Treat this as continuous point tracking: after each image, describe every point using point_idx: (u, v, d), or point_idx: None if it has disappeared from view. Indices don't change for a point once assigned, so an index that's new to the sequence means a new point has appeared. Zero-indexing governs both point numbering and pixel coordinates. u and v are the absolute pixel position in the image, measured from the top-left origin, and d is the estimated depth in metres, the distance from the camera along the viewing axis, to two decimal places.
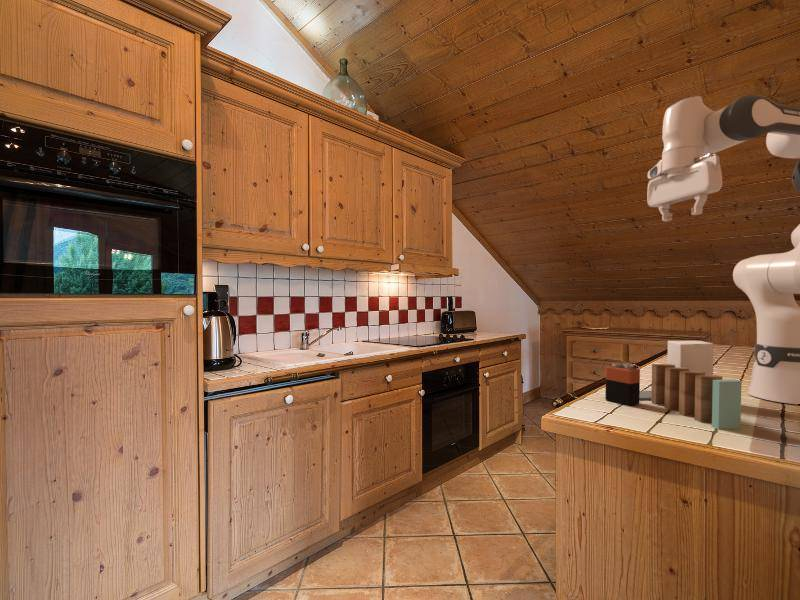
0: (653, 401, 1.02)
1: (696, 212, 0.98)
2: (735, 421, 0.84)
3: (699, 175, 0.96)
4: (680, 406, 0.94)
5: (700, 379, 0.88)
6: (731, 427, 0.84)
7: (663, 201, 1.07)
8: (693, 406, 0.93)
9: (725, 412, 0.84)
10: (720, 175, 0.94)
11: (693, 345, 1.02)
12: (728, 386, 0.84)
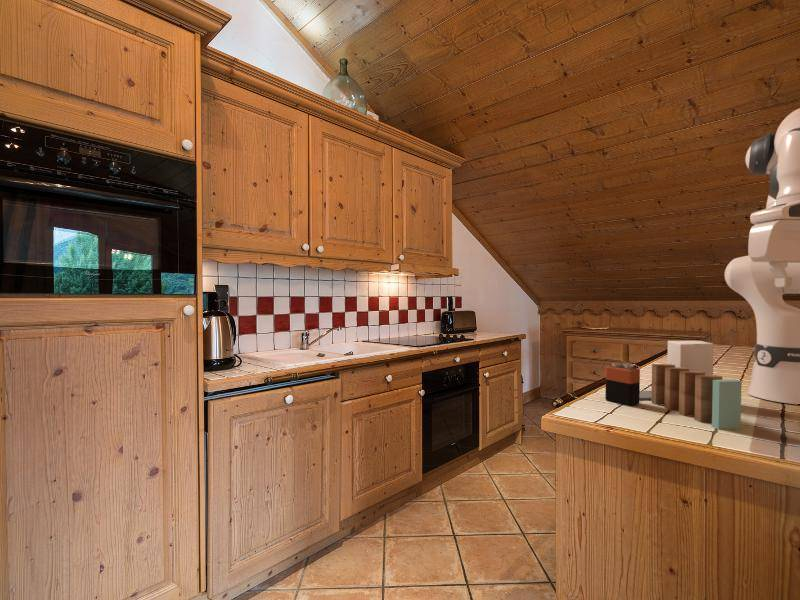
0: (653, 401, 1.02)
1: None
2: (735, 421, 0.84)
3: None
4: (680, 406, 0.94)
5: (700, 379, 0.88)
6: (731, 427, 0.84)
7: (796, 258, 0.73)
8: (693, 406, 0.93)
9: (725, 412, 0.84)
10: None
11: (693, 345, 1.02)
12: (728, 386, 0.84)
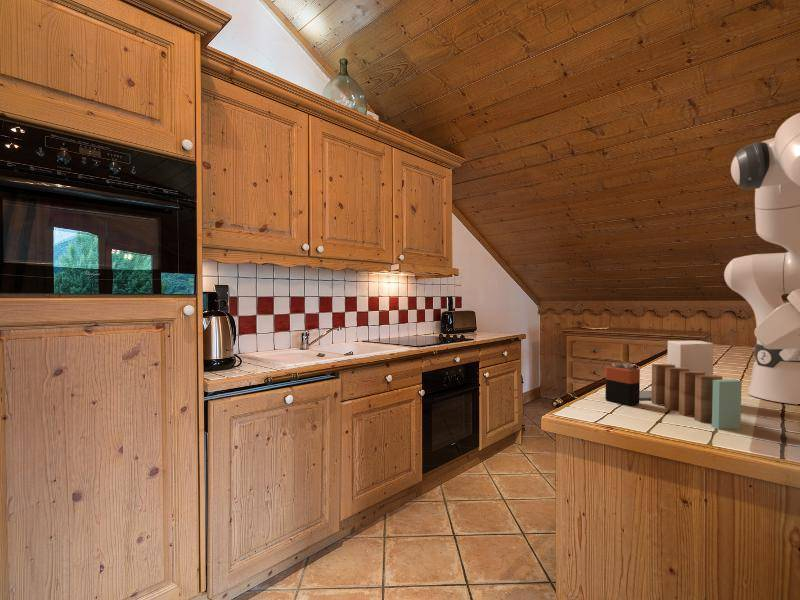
0: (653, 401, 1.02)
1: None
2: (735, 421, 0.84)
3: None
4: (680, 406, 0.94)
5: (700, 379, 0.88)
6: (731, 427, 0.84)
7: (797, 348, 0.67)
8: (693, 406, 0.93)
9: (725, 412, 0.84)
10: None
11: (693, 345, 1.02)
12: (728, 386, 0.84)
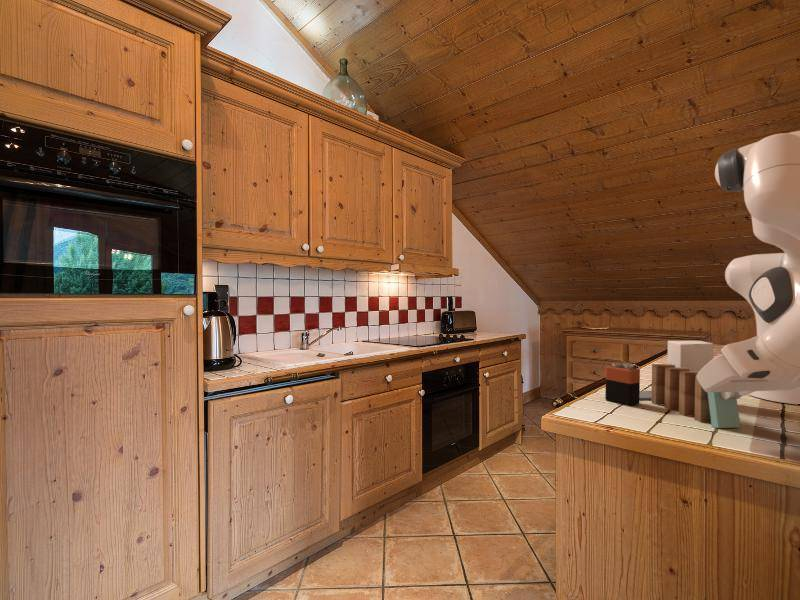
0: (653, 401, 1.02)
1: None
2: (734, 419, 0.84)
3: (799, 379, 0.77)
4: (680, 406, 0.94)
5: None
6: (731, 426, 0.84)
7: (731, 391, 0.79)
8: (693, 406, 0.93)
9: (722, 411, 0.84)
10: None
11: (693, 345, 1.02)
12: None
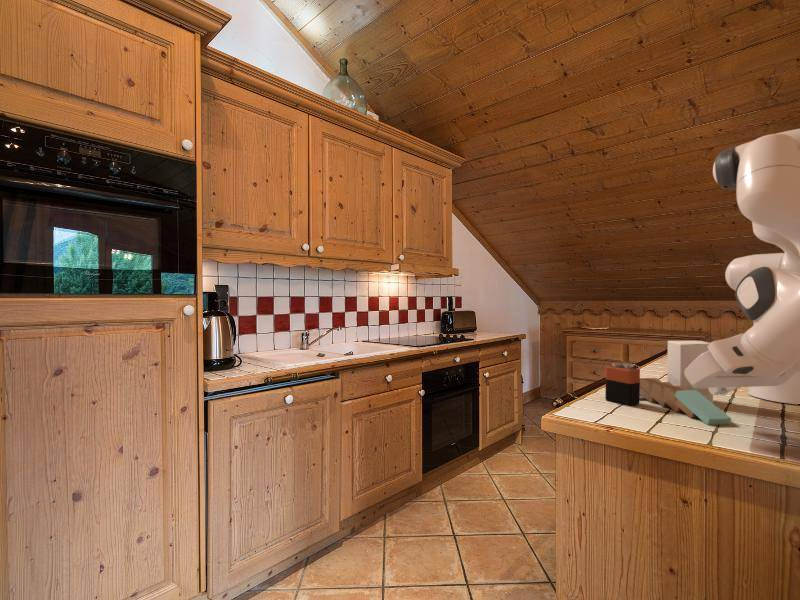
0: (650, 398, 1.04)
1: None
2: (720, 413, 0.88)
3: (783, 376, 0.80)
4: (671, 406, 0.97)
5: (664, 388, 0.99)
6: (721, 417, 0.86)
7: (718, 386, 0.82)
8: None
9: (703, 408, 0.89)
10: None
11: (693, 345, 1.02)
12: (688, 393, 0.94)
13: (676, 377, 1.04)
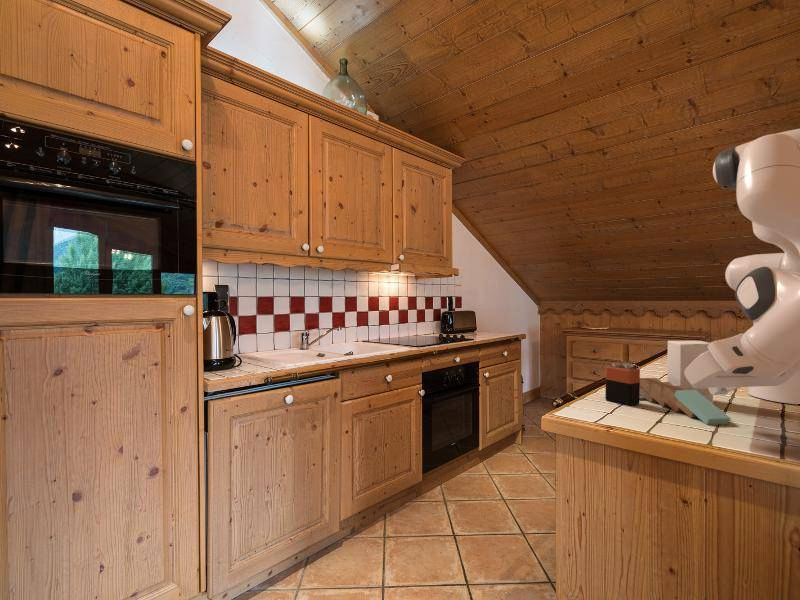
0: (649, 398, 1.04)
1: None
2: (719, 413, 0.88)
3: (783, 375, 0.80)
4: (671, 406, 0.97)
5: (664, 388, 0.99)
6: (720, 417, 0.86)
7: (718, 386, 0.82)
8: None
9: (703, 408, 0.89)
10: None
11: (693, 345, 1.02)
12: (687, 392, 0.94)
13: (676, 377, 1.04)
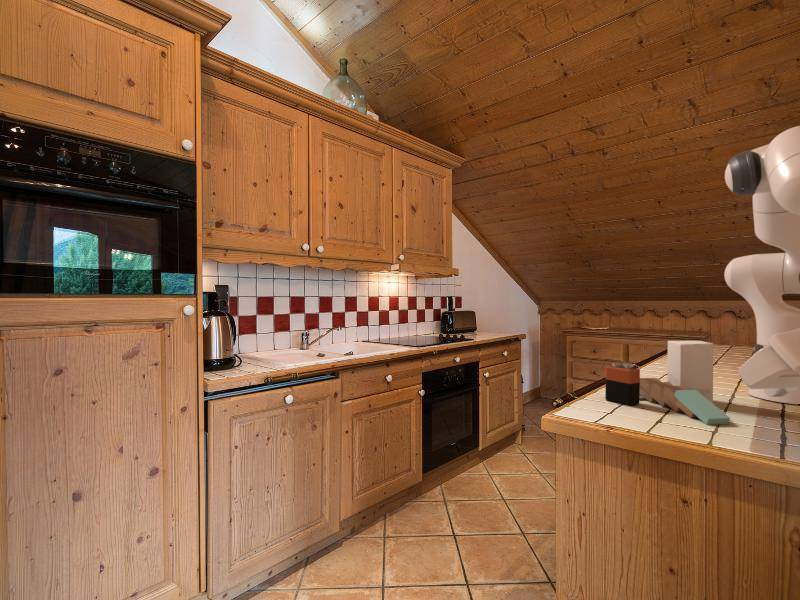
0: (649, 398, 1.04)
1: None
2: (719, 413, 0.88)
3: None
4: (671, 406, 0.97)
5: (664, 388, 0.99)
6: (720, 417, 0.87)
7: (779, 387, 0.70)
8: None
9: (702, 408, 0.89)
10: None
11: (693, 345, 1.02)
12: (687, 392, 0.94)
13: (676, 377, 1.04)
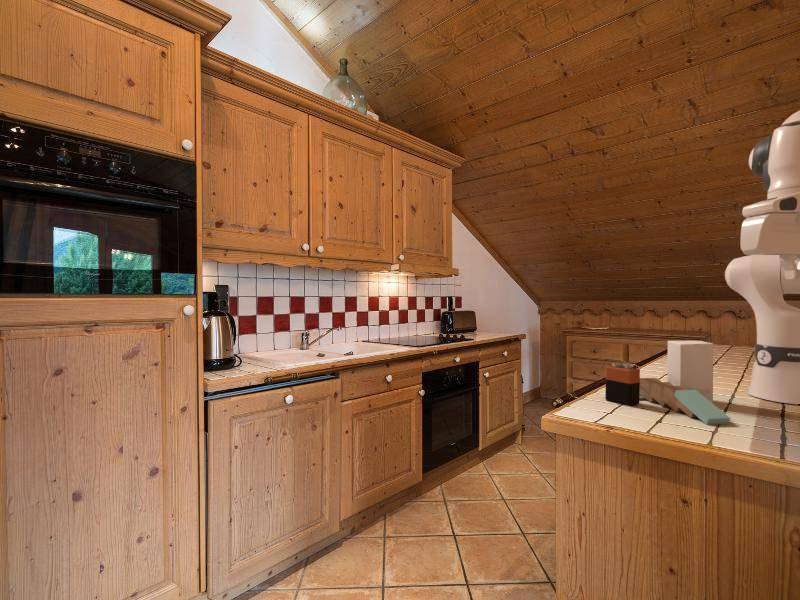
0: (649, 398, 1.04)
1: None
2: (719, 413, 0.88)
3: None
4: (671, 406, 0.97)
5: (664, 388, 0.99)
6: (720, 417, 0.87)
7: (787, 251, 0.74)
8: None
9: (702, 408, 0.89)
10: None
11: (693, 345, 1.02)
12: (687, 392, 0.94)
13: (676, 377, 1.04)
